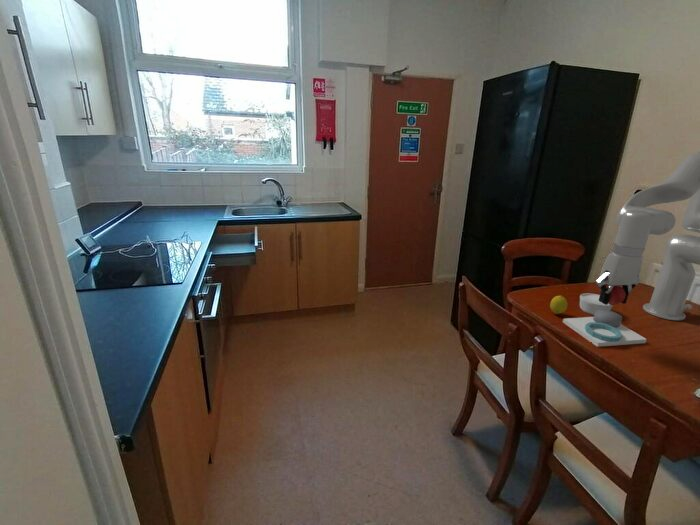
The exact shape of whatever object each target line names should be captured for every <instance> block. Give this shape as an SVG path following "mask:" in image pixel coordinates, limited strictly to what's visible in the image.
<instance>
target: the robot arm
mask: <svg viewBox="0 0 700 525" xmlns="http://www.w3.org/2000/svg"><path fill="white" fill-rule="evenodd" d="M685 200H689V202H688V204H687V207H686V210H685V211H684V213H683V217H682V221H681V227H682V228H683V229H684V230H686V231H690V232H694V233H699V234H700V151H697V152H696V151H695V152H692V153H691V154H689V155H687V156H686V157H685V158H684V159H683V160H682V161H681V163H680V164H679V165H677V167H676V168H675V169H674V170H673V171H672V172H671V173H670V175H669V176H668V177H667V178H666V179H665V180H664V181H663V182H661V183H657V184H655V185H651V186H649V187H646V188H645V189H643V190H639V191H638V192H636V193H634V194H632V196H630V198H629V199H628V200H627V201H626V202H625V203H624V204H622V205H623V206H621V208H620V210H619V211H618V212H617V215H616V217H615V218H616V219H615V220H616V224H617V225H618V230H617V232H616V237H615V240H614V244H613V247H612V251H611V252H609V253H608V255H607V256H606V258H605V260H604V263H603V265H602V268H601V271H600V274H599V277H598V279H596V280H595V284H596V285H597V286H598V288H599V290H600V294H599V295H600V297H599V301H600V302H602V303H603V304H605V305H607V304H608V303H609V299H610V296H611V294H610V291H611V290H612V288H613V287H614V286H617V285H620V287H622V288H623V290H624V291H625V294H626V296H625V299H624V301H622V302H621V303H620V304H627V302H628V298H629V294H630V293H631V292H632V290H633V289H634V288H635V287H636V286H637V285H638V284H640V282H641V281H642V280H641V278H640V274H641V269H642V264H643V255H644V251H645V247H646V244H647V242H648V239H649V236H650V235H653V236H654V235H655V236H658V235H665V234H667V233H669V232H670V231H671V230H673V228H674V227H675V225H676V221H677V220H676V219H677V218H676V217H675V215H674V214H673V213H672V212H670V211H667V210H663V209H657V208H650V207H651V206H655V205H661V204H670V203H676V202H681V201H685ZM664 252H665V253H664V260H663V263H662V267H661V270H660V272H659V276H658V278H657V280H656V283H655V286H654V289H653V292H652V295H651V298H650V301H649V303H644V304H643V305H642V309H643V310H644V311H645V312H646V313H648V314H650V315H652V316H655V317H658V318H661V319H665V320H669V321H683V320H685V319H686V314H685V312H684V311H685V310H691V309H692V308H693V306H692V305H691V304H690V303H689V304H686V300H687V298H688V295H689V293H690V290H691V287H692V285H693V284H694V283H693V282H694V280H695V278H696V269H695V267H694V265H698V266H700V236H697V235H694V234H692V235H691V234H685V233H681V234H675V235H673V236H671V237H670V238H669V239H668V240H667V242H666V244H665V250H664ZM607 286H608V287H607Z"/></svg>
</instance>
